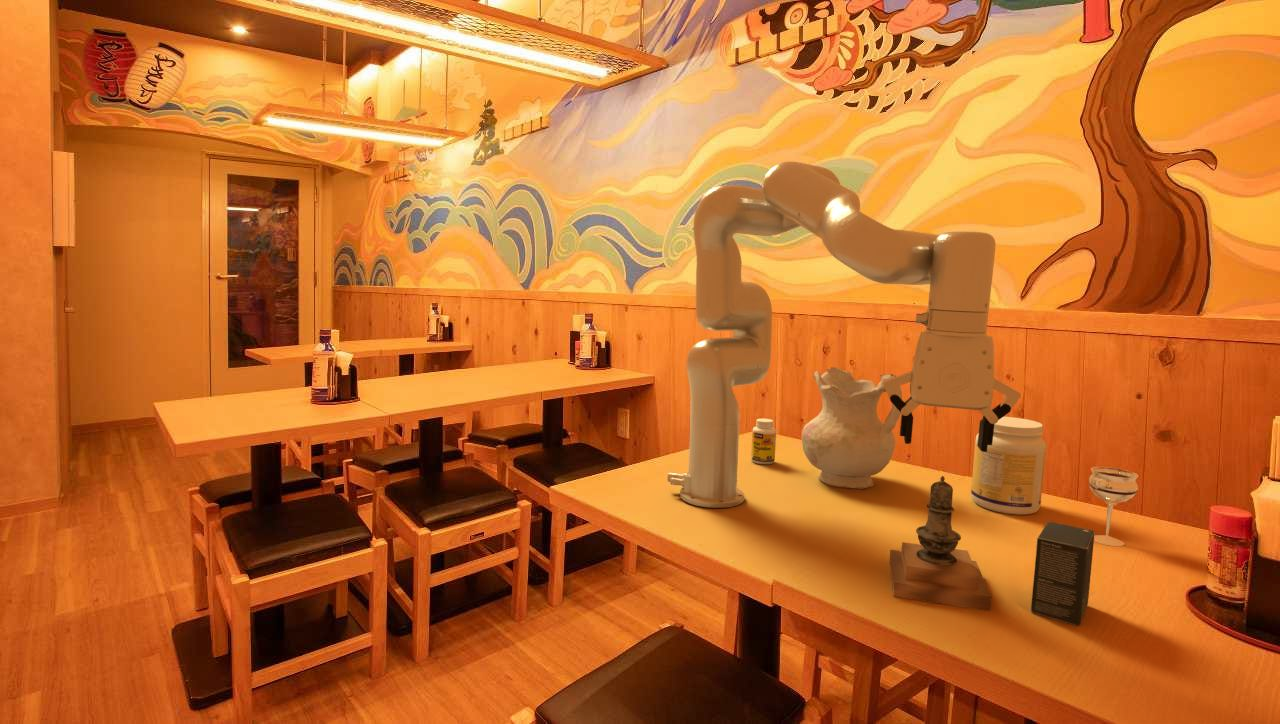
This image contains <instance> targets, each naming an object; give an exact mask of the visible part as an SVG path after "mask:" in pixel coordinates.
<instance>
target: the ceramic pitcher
mask: <svg viewBox="0 0 1280 724" xmlns="http://www.w3.org/2000/svg"><path fill="white" fill-rule="evenodd" d="M879 376H880V381H879V383H878V384H877V386H876V385H875V383H874V382H873V381H872V380H870V379H866V380H865V379H862V378H861V379H860V378H859V379H855V377H854V376H853V375H852V373H851V372H850V370H848V371H846V370H844V369H841V368H840V367H835V366H832V367H830V369H829V368H828V369H826V371H825V372H824V373H822V375H821V373H820V372H819V371H817V370H816V371H814V375H813V378H814V380H815V381H816V385H817V388H818V389H819V392H820V395H821V400H822V402H821V403H822V408H821V411H820V412H819V413H818V415H817V416H815V417H814V418H813V419H811V420H809V422H807V423H806V424H805V425H804V427H803V429H802V431H801V446H802V450H803V452H804V454H805V457H806V459H807V461H808V462H809V463H810V464H811V466H813V467H814V468H816V469H817V470H820V473H819V475H818V476H817V477H818V480H820V482H821V483H823V484H826V485H827V486H829V487H838V488H848V489H859V490H863V489H866V488H871V487H874V486H875V483H874V481H873V480H872V477H871V476H875V475H877V474H879V473H881V472H882V471H883V470H884V469H885V468H886V467H887V466H888V464H889V463H890V461H891V459H892V457H893V455H894V451H895V448H896V447H895V446H896V439H895V434H894V432H893V431H892V430H894V428H896V426H897V422H898V421H899V419H900V418H901V415H902V414H901V412H900V411H899V410H898V409H897V408H896V407H895V406H894V405H893V403H892V402H891V409H890V412H889V413H888V415H887V416H886V418H885V420H884V422H882V421H881V420H880V418H879V416H878V414H877V412H878V411H877V409H878V403H879V401H880V398H881V397H882V394H883V393H887V392H886V390H885V388H884V384H883V383H884V381H886V380H889V379H891V378H894V377H897V375H896V374H893V373H892V374H889V373H886V374H885V373H884V374H880V375H879ZM896 392H897V394H898V396H899V397H900V398H901V399H902V400H903V392H902V388H901V385H900V386H898V387H896Z"/></svg>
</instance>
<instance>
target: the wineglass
mask: <svg viewBox="0 0 1280 724" xmlns="http://www.w3.org/2000/svg"><path fill="white" fill-rule="evenodd" d="M1090 471H1091V473H1092V474H1091V475H1090V476H1089V479H1088V485H1089V488H1090V490H1091V492H1092V493H1094V495H1095V496H1096V497H1097V498H1099V499H1100V500H1102V501H1104V503H1105V504H1106V505H1107V507H1106V508H1107V509H1106V527H1105V535H1104V534H1094V542H1095V543H1098V544H1100V545H1106V546H1111V547H1123V546H1124V545H1125V542H1123V541H1122V540H1120V539H1119V538H1115V537H1112V536H1111V535H1109V534H1110V529H1111V522H1112V515H1113V510H1114V506H1116V505H1118V504H1121V503H1125V502H1127V501H1129V500H1130V499H1133V497H1135V495H1137V493H1138V489H1139V485H1138V483H1137V479H1138V478H1139V475H1138V474H1137V473H1136V472H1133V471H1129V470H1127V469H1120V468H1114V467H1108V466H1093V467H1090Z"/></svg>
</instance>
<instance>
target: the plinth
mask: <svg viewBox="0 0 1280 724" xmlns="http://www.w3.org/2000/svg"><path fill="white" fill-rule="evenodd" d="M922 549H924V547H923V546H922V545H921V544H920V543H913V542H912V543H911V542H903V541H902V543H901V550H896V549H890V550H889V560H888V562H889V570H890V578H891V579H890V580H891V586H892V593H893V597H896V598H903V599H907V600H908V599H909V600H914V601H915V600H916V601H923V602H928V603H936V604H942V605H946V606H947V605H949V606H955V607H961V608H968V609H975V610H980V611H987V612H991V609H992V597H993V596H992V594H991V592H990V590H989V587H988V584H987V583H986V581H985V579H984V576H983V574H982V572H981V570H980V567H979V564H978V562H977V561H975V560H972V558H971V555H970V553H969V550H966V549H959V548H955V550H953V551H952V552H950V553H951V554H952V555H953V556H954V557H955V558H956V559H957V562H956V563H955V564H952V565H937V564H932V563H929V562H926V561H923V560H921V559H920V558H918V556H917V554H916V553H917V551H919V550H922Z"/></svg>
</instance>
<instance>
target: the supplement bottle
mask: <svg viewBox="0 0 1280 724" xmlns="http://www.w3.org/2000/svg"><path fill="white" fill-rule="evenodd" d="M755 425H756V426H754V427H753V428H752V434H751V455H750V457H751V458H750V460H751V462H752V463H755V464H758V465H764V466H765V465H771V464H773V463H775V460H776V459H775V458H776V445H777V444H776V442H777V429H776V428H774V420H773V419H770V418H757V419H756V423H755Z"/></svg>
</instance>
